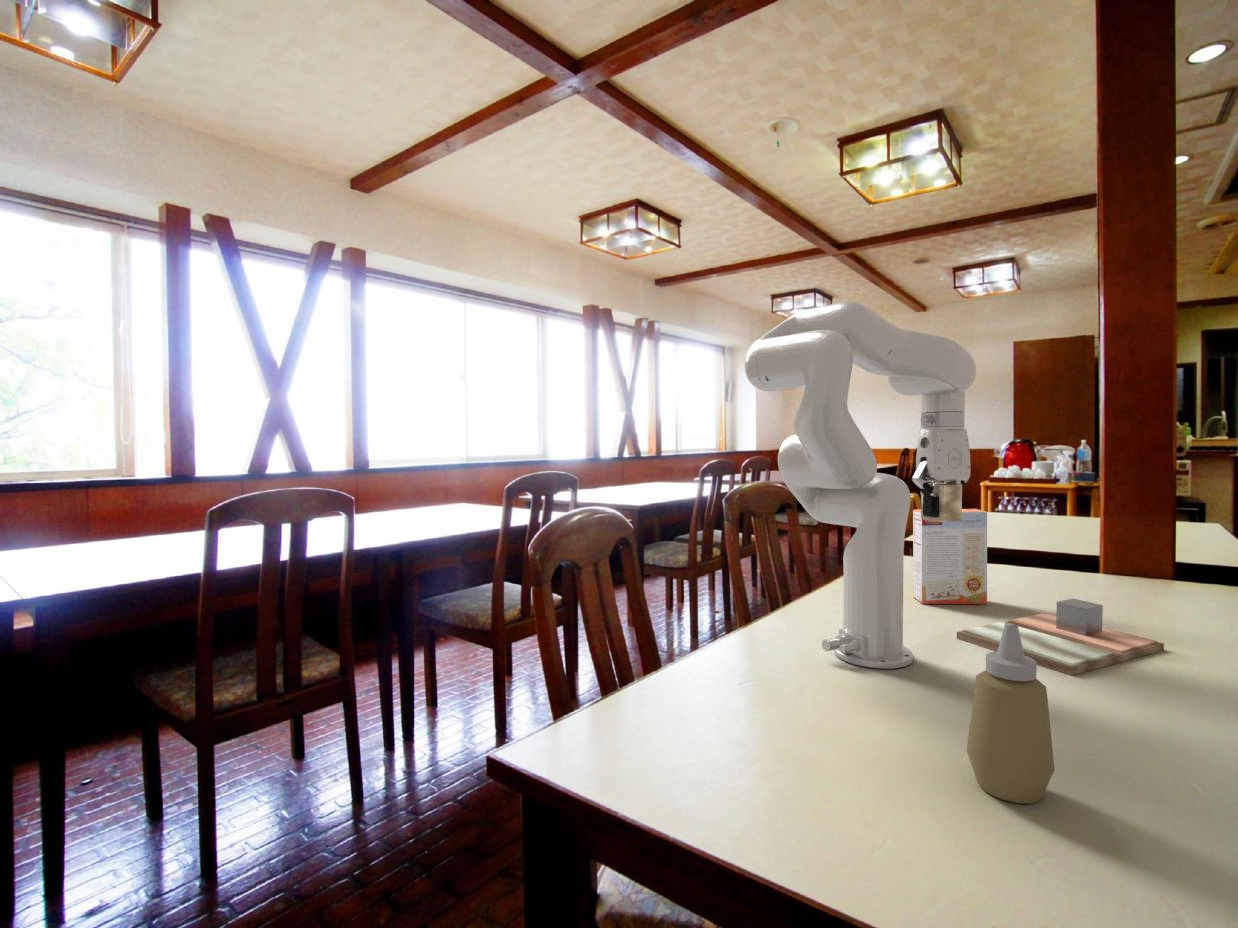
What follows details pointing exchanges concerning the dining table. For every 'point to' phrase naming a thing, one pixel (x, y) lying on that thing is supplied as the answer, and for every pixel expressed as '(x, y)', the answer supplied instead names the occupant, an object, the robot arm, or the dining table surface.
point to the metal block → (1079, 617)
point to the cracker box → (950, 559)
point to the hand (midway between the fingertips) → (941, 514)
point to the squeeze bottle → (1011, 725)
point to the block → (947, 503)
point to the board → (1064, 644)
